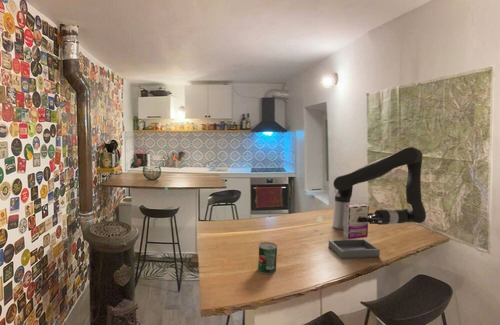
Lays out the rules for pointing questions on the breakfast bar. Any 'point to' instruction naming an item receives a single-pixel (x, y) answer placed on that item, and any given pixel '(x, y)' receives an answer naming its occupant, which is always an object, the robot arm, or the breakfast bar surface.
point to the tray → (353, 249)
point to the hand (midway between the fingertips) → (355, 218)
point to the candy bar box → (355, 221)
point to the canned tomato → (267, 258)
